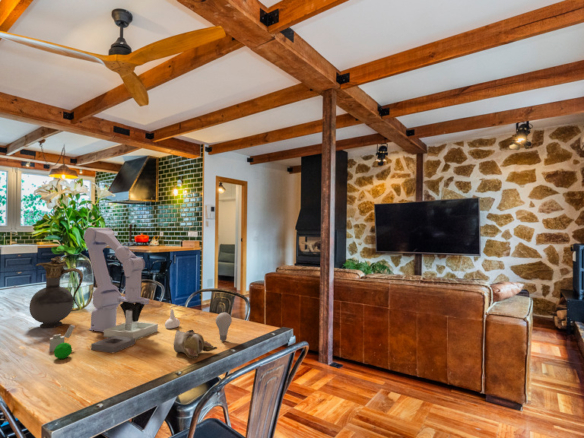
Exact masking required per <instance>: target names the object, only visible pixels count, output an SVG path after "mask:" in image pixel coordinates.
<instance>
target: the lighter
mask: <svg viewBox="0 0 584 438" xmlns="http://www.w3.org/2000/svg"><path fill="white" fill-rule="evenodd" d="M75 327H76V326H75V325H74V324H70V325H69V327H68V328H67V330H66V332H65V333H64V335H62V334H61V333H58V334H53V335H52V337H49V347H48V348H49V349H48V350H49V351H48V352H50V353H51V352H54V350H55V348H56V346H58V345H59V344H61V343H65V338H67V339H69V338H70V336H71V334H72V333H73V331H74V329H75ZM61 335H62V336H61Z"/></svg>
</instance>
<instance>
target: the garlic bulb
mask: <svg viewBox="0 0 584 438" xmlns="http://www.w3.org/2000/svg"><path fill="white" fill-rule="evenodd" d="M175 316H176V315H175V312H174V309H173V308H171V309H170V315H169V318H168V319H166V321H165V323H164V327H165V328H166V329H169V330H170V329H175V328H179V326H180V324H181V322H180V320H179V318H177V317H175Z"/></svg>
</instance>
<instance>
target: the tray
mask: <svg viewBox="0 0 584 438" xmlns="http://www.w3.org/2000/svg"><path fill="white" fill-rule="evenodd" d="M158 325H159V323H152V322H151V323H150V322H145V321H144V322H143V321H138V326H137V329H136V330H133V331H127V330H125V322H123V323H120V324H118V325H117V324H116V326H114V327H111V328H108V329H105V330H104V332H103V338H105V337H107V338H109V337H112V336H120V337H128V338H135V341H137V340H140V339H142V338H145V337H147V336H149V335H151V334H154V333H157V332H158V331H159V329H158V328H159V327H158Z"/></svg>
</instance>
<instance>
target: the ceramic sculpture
mask: <svg viewBox="0 0 584 438" xmlns="http://www.w3.org/2000/svg"><path fill="white" fill-rule="evenodd" d="M217 349H218V347H217V346H214V345H212V344H211V343H210V342H208V341H207V340H205V339H204V337H203V335H201V334H200V333H196V332H195V331H194V330H193V329H189V330H187V331H182V330H179V329H176V332H175V336H174V340H173V350H174V352H176V353H184V354H185V355H186V356H187V357H188V358H189V359H197V358H199V354H200V353H202V351H203V352H207V353H208V352H212V351H215V350H217Z"/></svg>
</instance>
